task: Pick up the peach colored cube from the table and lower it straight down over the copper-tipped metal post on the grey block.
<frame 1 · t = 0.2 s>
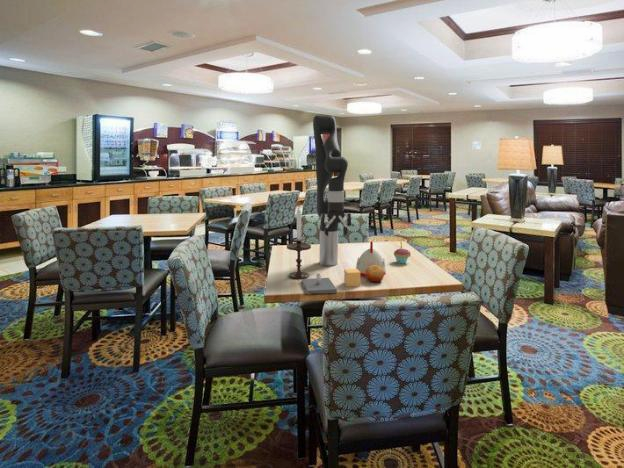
hand: (335, 235, 202), 17 cm above the table, tool pointing down, fingers open, 8 cm apart
candlestick: (298, 276, 197), on the table
fruit: (374, 281, 190), on the table
cupcake: (401, 262, 222), on the table
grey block: (318, 287, 181), on the table
kitchen timer: (370, 273, 202), on the table
peach colored cube: (351, 284, 186), on the table
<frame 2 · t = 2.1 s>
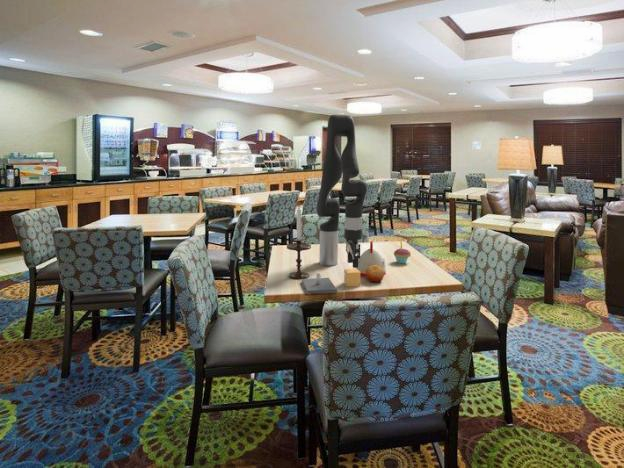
hand: (352, 265, 184), 9 cm above the table, tool pointing down, fingers open, 8 cm apart
nothing on the table moved.
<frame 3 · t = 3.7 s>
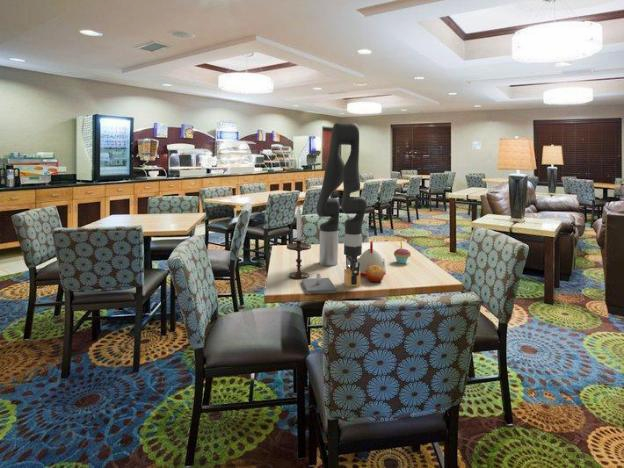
hand: (352, 281, 185), 1 cm above the table, tool pointing down, fingers closed on peach colored cube, 5 cm apart
peach colored cube: (351, 284, 186), on the table, touching gripper
everything else where it was.
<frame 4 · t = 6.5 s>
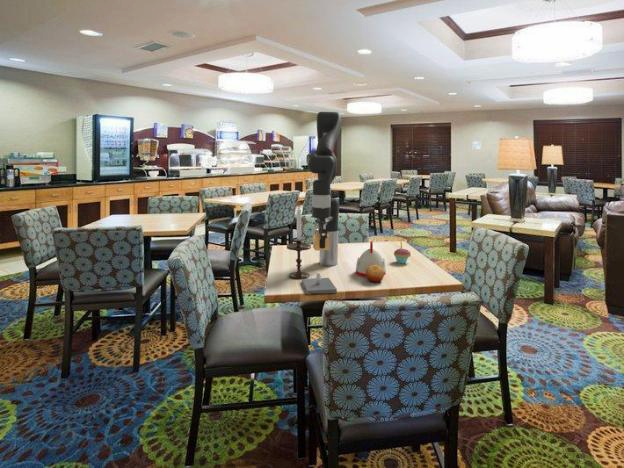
hand: (320, 246, 178), 18 cm above the table, tool pointing down, fingers closed on peach colored cube, 5 cm apart
peach colored cube: (320, 248, 178), point 17 cm above the table, touching gripper
everything else where it was.
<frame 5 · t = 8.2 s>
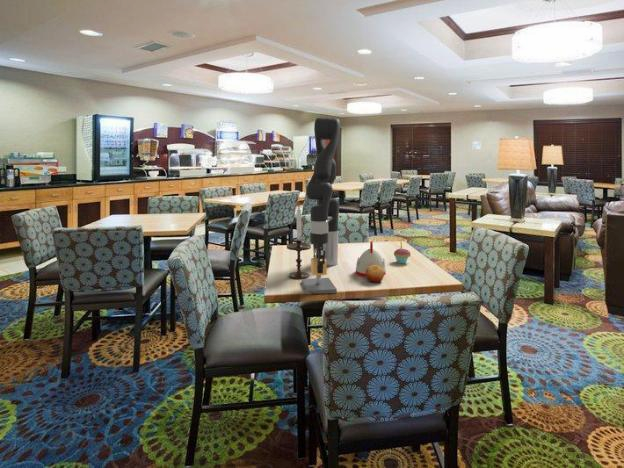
hand: (318, 270, 180), 7 cm above the table, tool pointing down, fingers closed on peach colored cube, 5 cm apart
peach colored cube: (318, 273, 180), point 6 cm above the table, touching gripper
everything else where it was.
when the fingers open (4 cm above the table, at t = 9.6 s): peach colored cube drops 2 cm, resting on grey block.
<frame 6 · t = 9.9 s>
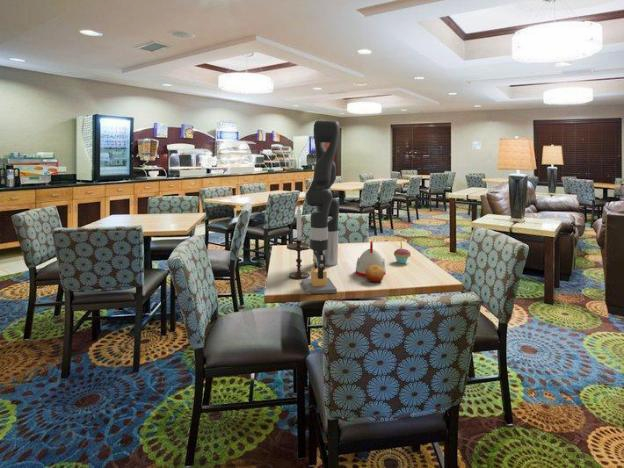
hand: (318, 275, 180), 5 cm above the table, tool pointing down, fingers open, 8 cm apart
peach colored cube: (318, 283, 181), point 1 cm above the table, touching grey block
everything else where it was.
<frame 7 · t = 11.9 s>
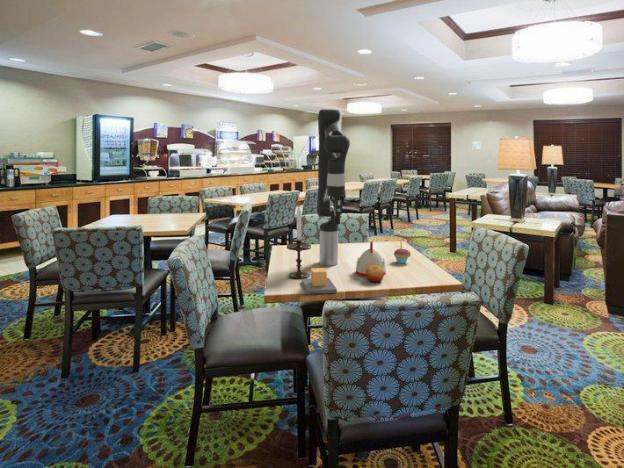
hand: (335, 222, 184), 26 cm above the table, tool pointing down, fingers open, 8 cm apart
nothing on the table moved.
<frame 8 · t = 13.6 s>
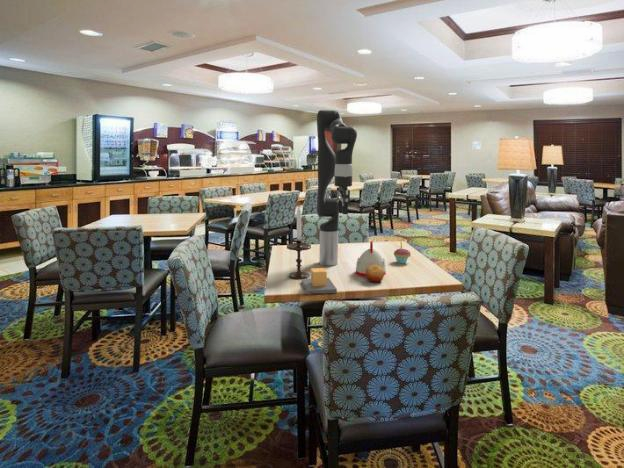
hand: (342, 212, 186), 30 cm above the table, tool pointing down, fingers open, 8 cm apart
nothing on the table moved.
at the end: peach colored cube 0.0 cm from the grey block (horizontally); peach colored cube point 1.5 cm above the table; the gripper is holding nothing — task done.
